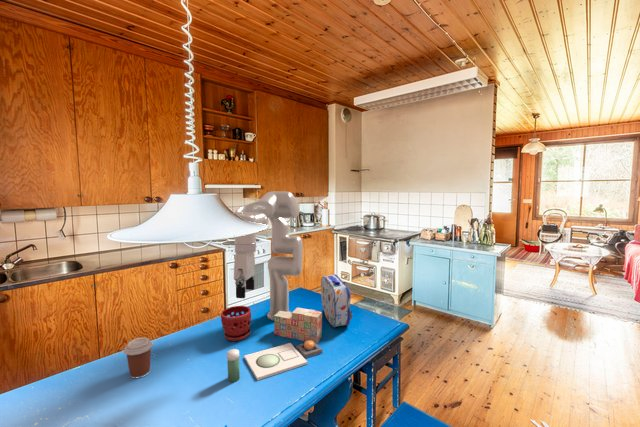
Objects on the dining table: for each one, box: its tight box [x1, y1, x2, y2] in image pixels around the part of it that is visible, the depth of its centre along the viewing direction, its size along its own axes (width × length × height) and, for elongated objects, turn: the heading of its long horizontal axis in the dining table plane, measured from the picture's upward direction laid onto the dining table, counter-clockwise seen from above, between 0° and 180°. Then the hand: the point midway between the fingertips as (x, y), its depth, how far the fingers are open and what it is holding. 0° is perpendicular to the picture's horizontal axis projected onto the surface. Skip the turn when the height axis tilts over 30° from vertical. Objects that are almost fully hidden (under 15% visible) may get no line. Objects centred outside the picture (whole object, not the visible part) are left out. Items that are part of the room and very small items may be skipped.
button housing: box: [295, 341, 323, 359], centre depth 129 cm, size 8×8×2 cm
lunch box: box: [320, 274, 353, 328], centre depth 158 cm, size 28×10×22 cm, turn 15°
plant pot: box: [220, 305, 252, 342], centre depth 141 cm, size 13×13×12 cm
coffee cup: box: [123, 336, 154, 378], centre depth 113 cm, size 9×9×12 cm
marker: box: [226, 348, 240, 383], centre depth 110 cm, size 4×4×10 cm
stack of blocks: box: [273, 307, 323, 345], centre depth 141 cm, size 21×6×12 cm, turn 69°
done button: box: [303, 340, 315, 351], centre depth 129 cm, size 4×4×2 cm
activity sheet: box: [243, 342, 308, 381], centre depth 122 cm, size 16×20×1 cm
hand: (245, 293), depth 115 cm, fingers open, 9 cm apart
